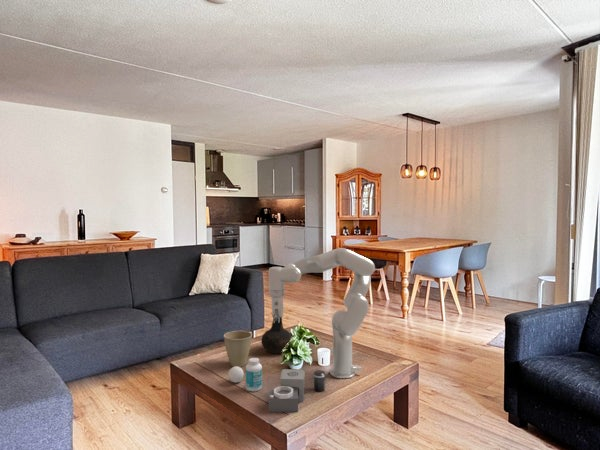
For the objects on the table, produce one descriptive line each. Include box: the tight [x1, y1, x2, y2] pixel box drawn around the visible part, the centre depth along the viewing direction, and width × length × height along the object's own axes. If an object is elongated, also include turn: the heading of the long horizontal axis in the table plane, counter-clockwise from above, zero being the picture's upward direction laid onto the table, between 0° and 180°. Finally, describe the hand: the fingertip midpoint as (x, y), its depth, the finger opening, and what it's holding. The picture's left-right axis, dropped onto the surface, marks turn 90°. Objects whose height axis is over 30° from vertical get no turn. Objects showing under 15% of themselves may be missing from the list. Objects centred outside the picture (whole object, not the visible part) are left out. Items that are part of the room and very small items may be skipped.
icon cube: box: [279, 368, 306, 403], centre depth 171 cm, size 10×10×10 cm
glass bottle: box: [260, 317, 292, 354], centre depth 225 cm, size 18×18×28 cm
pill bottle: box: [245, 357, 263, 392], centre depth 178 cm, size 8×7×14 cm
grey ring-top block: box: [268, 385, 299, 413], centre depth 162 cm, size 12×8×7 cm, turn 91°
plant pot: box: [223, 330, 253, 368], centre depth 206 cm, size 15×15×16 cm
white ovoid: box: [227, 366, 245, 383], centre depth 186 cm, size 10×7×7 cm
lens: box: [313, 369, 326, 393], centre depth 177 cm, size 5×5×8 cm
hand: (277, 328), depth 186 cm, fingers open, 9 cm apart
